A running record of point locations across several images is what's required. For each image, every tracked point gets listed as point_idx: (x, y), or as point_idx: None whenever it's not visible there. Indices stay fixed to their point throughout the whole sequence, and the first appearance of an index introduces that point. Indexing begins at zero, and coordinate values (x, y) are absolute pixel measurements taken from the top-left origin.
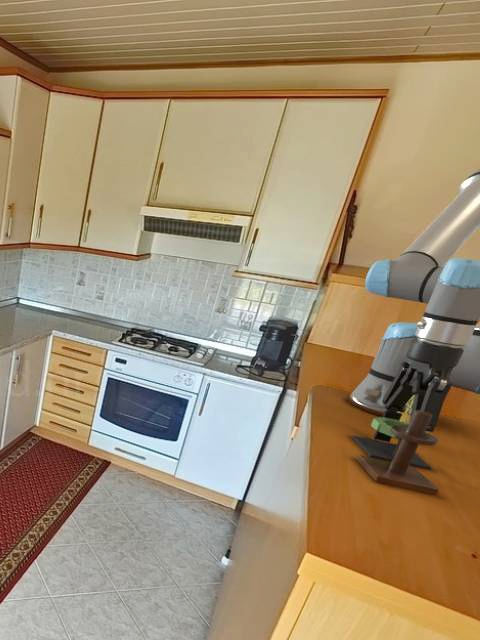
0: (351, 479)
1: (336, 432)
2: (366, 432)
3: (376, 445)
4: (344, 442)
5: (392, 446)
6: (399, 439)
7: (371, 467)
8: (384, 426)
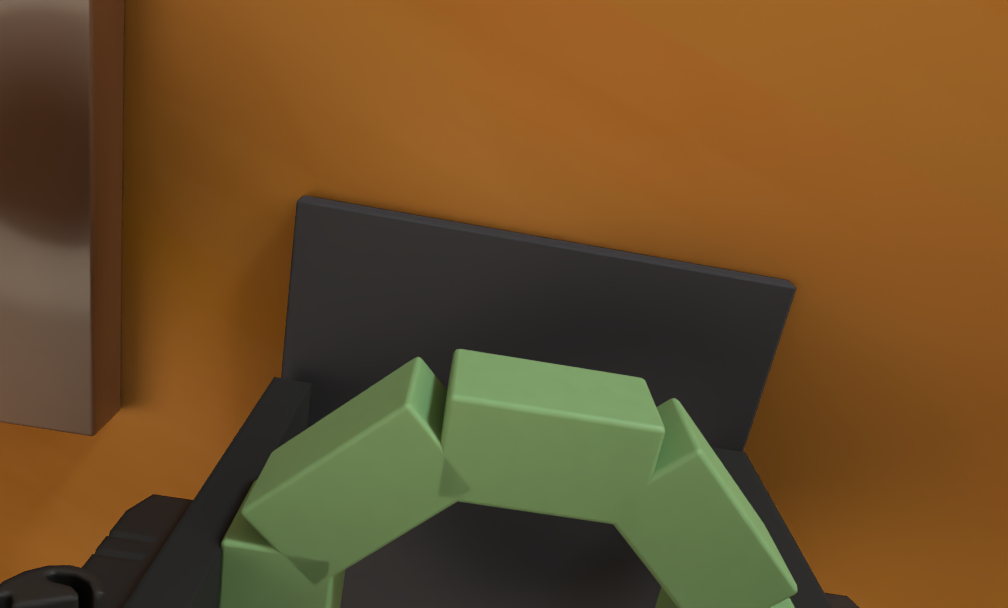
0: None
1: (895, 170)
2: (970, 512)
3: None
4: (615, 107)
5: (625, 543)
6: (246, 481)
7: None
8: (372, 418)
